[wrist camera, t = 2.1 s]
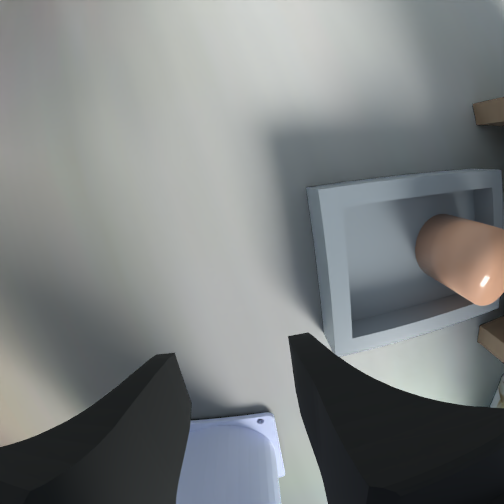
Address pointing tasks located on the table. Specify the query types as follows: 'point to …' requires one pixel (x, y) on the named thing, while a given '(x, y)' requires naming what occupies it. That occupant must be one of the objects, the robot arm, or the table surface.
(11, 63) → the table surface
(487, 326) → the brown boxy block
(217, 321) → the table surface
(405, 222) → the tray
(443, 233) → the tan rounded smooth part
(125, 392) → the robot arm
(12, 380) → the table surface
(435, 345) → the table surface
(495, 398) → the coffee box
